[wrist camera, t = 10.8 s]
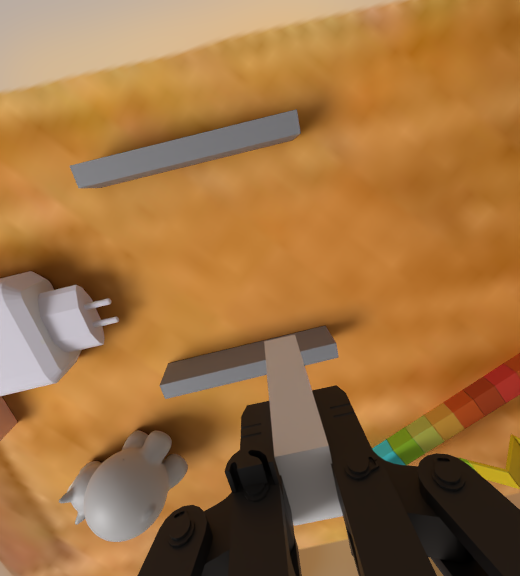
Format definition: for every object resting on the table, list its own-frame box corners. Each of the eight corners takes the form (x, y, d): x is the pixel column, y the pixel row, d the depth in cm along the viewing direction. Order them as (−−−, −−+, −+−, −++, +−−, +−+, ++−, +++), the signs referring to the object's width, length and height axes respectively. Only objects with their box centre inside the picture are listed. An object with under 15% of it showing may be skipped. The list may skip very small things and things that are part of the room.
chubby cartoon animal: (90, 421, 35) (16, 495, 28) (172, 421, 30) (109, 509, 23) (118, 466, 37) (57, 545, 30) (199, 473, 32) (150, 568, 25)
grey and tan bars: (286, 105, 24) (293, 93, 20) (329, 347, 31) (340, 366, 28) (-136, 210, 24) (-196, 214, 21) (3, 425, 31) (-25, 453, 28)
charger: (142, 342, 30) (-7, 378, 30) (105, 251, 27) (-61, 292, 27) (125, 370, 25) (-50, 412, 25) (78, 265, 22) (-121, 313, 22)
